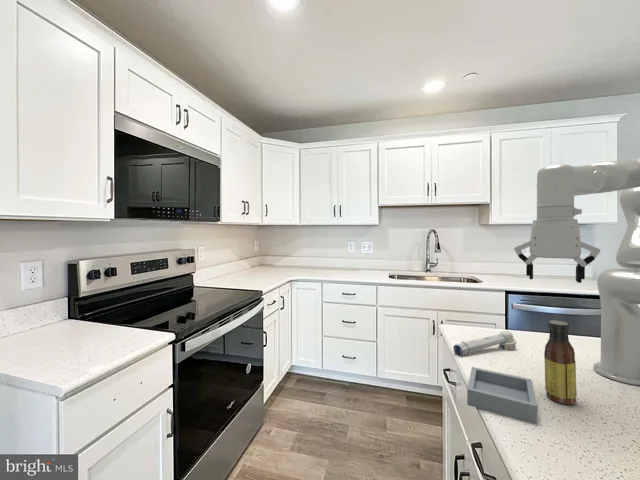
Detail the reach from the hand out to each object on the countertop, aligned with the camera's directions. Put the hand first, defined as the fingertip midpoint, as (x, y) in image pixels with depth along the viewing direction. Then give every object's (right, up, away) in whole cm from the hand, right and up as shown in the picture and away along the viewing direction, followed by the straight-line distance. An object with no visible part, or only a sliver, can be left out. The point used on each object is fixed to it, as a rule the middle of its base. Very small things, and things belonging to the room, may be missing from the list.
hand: (553, 280), depth 76 cm
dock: (-15, -31, -1) cm, 34 cm away
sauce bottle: (+1, -31, -1) cm, 31 cm away
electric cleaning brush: (-1, -30, +30) cm, 42 cm away
